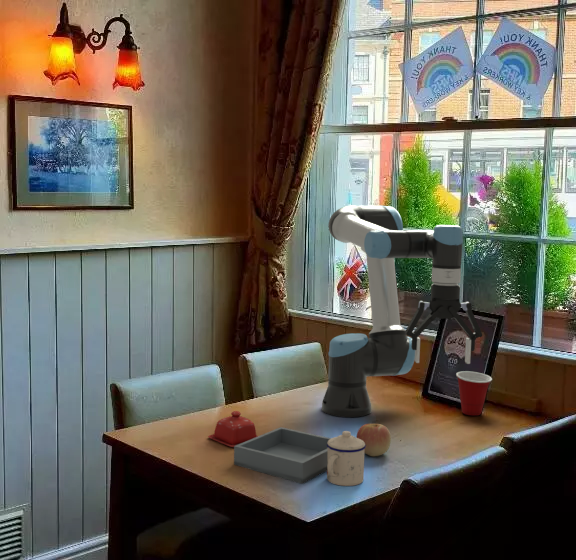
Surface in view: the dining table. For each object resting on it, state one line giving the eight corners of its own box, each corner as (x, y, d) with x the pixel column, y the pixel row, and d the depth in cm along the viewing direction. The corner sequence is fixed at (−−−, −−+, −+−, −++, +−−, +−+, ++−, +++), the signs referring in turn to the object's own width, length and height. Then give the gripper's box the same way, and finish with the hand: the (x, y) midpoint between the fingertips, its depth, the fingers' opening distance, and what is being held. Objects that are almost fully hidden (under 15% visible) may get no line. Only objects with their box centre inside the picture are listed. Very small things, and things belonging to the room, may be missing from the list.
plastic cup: (479, 420, 244) (481, 381, 242) (447, 413, 251) (449, 374, 250) (496, 413, 252) (498, 375, 251) (465, 406, 259) (467, 369, 258)
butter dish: (265, 443, 219) (266, 412, 218) (232, 452, 211) (232, 420, 210) (238, 433, 227) (238, 403, 226) (205, 441, 220) (205, 410, 219)
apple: (367, 461, 205) (368, 430, 204) (350, 451, 213) (351, 421, 212) (396, 457, 209) (397, 427, 208) (378, 447, 217) (379, 417, 216)
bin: (233, 465, 200) (234, 446, 200) (280, 445, 217) (280, 427, 216) (302, 484, 189) (302, 463, 188) (345, 460, 205) (346, 441, 205)
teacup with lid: (338, 470, 199) (339, 423, 197) (371, 478, 193) (373, 430, 192) (311, 484, 189) (312, 435, 187) (345, 493, 184) (347, 443, 182)
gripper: (401, 284, 212) (398, 364, 215) (496, 286, 213) (492, 366, 215) (396, 281, 220) (393, 358, 222) (488, 282, 220) (484, 360, 223)
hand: (442, 362), depth 219 cm, fingers open, 13 cm apart
